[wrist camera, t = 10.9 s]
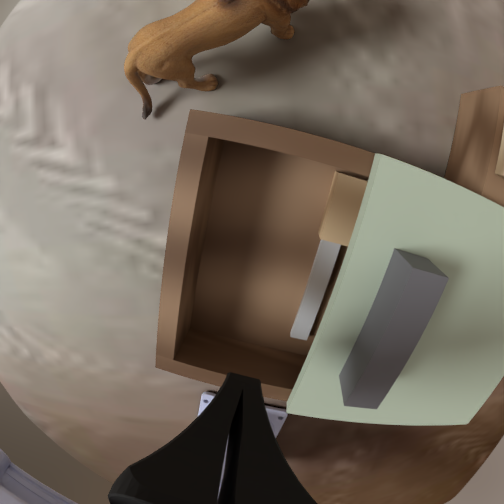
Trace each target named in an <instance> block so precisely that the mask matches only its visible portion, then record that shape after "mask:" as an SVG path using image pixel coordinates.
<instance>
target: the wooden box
mask: <svg viewBox="0 0 504 504" xmlns="http://www.w3.org/2000/svg"><path fill="white" fill-rule="evenodd" d="M503 128H504V87H502V86H497V87H492V88H487V89H482V90H477V91H473V92H468V93H464V94H461V99H460V105H459V112H458V117H457V123H456V128H455V133H454V138H453V143H452V147H451V152H450V156H449V160H448V165H447V169H446V172H445V176H444V179H446V180H448V181H451V182H453V183H455V184H457V185H460V186H462V187H464V188H466V189H468V190H470V191H472V192H474V193H477V194H479V195H481V196H483V197H485V198H487V199H489V200H491V201H492V202H494V203H496V204H498V205H500V206H502V207H504V179H503V178H501V177H500V176H498V175H496V174H495V170H496V165H497V161H498V156H499V151H500V146H501V140H502V134H503ZM374 156H375V153H372V152H369V151H366V150H363V149H360V148H357V147H354V146H350V145H347V144H344V143H341V142H337V141H334V140H330V139H327V138H324V137H320V136H316V135H313V134H309V133H305V132H301V131H297V130H293V129H289V128H285V127H281V126H277V125H273V124H268V123H264V122H259V121H254V120H249V119H244V118H239V117H234V116H229V115H223V114H217V113H211V112H205V111H199V110H192V109H190V112H189V117H188V122H187V126H186V131H185V136H184V141H183V146H182V151H181V156H180V161H179V167H178V172H177V178H176V183H175V189H174V195H173V202H172V208H171V214H170V221H169V228H168V235H167V243H166V251H165V259H164V267H163V276H162V286H161V296H160V307H159V319H158V332H157V348H156V368H159V369H162V370H165V371H168V372H171V373H175V374H178V375H181V376H184V377H188V378H191V379H195V380H198V381H202V382H205V383H209V384H213V385H216V386H220V387H221V386H222V384H223V382H224V380H225V378H226V376H227V373H229V372H232V373H236V374H240V375H244V376H248V377H252V378H256V379H259V380H260V381H261V387H262V394H263V397H268V398H273V399H278V400H283V401H287V400H288V398H289V396H290V394H291V392H292V390H293V387H294V385H295V383H296V381H297V378H298V376H299V374H300V372H301V369H302V367H303V365H304V362H305V360H306V358H307V355H308V353H309V350H310V348H311V346H312V343H313V341H314V338H315V336H316V333H317V331H318V328H319V326H320V323H321V321H322V318H323V315H324V313H325V310H326V308H327V305H328V302H329V300H330V297H331V294H332V291H333V289H334V286H335V283H336V280H337V278H338V275H339V272H340V269H341V266H342V263H343V260H344V257H345V254H346V251H347V248H348V245H349V242H350V239H351V236H352V233H353V230H354V227H355V223H356V220H357V217H358V214H359V210H360V207H361V204H362V200H363V197H364V193H365V190H366V186H367V183H368V179H369V175H370V172H371V168H372V164H373V160H374Z"/></svg>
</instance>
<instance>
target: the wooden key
mask: <svg viewBox="0 0 504 504" xmlns="http://www.w3.org/2000/svg"><path fill="white" fill-rule="evenodd" d="M495 174H496V175H498V176H500V177H501V178H503V179H504V128H503V134H502V140H501V146H500V151H499V156H498V161H497V165H496V170H495Z"/></svg>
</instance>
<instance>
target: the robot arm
mask: <svg viewBox="0 0 504 504" xmlns="http://www.w3.org/2000/svg"><path fill="white" fill-rule="evenodd" d="M280 416H281V417H280ZM287 416H288V413H286V410H285V409H281V408H276V407H270V406H265V404H264V399H263V394H262V387H261V381H260V380H259V379H256V378H252V377H248V376H244V375H240V374H236V373H232V372H229V373H227V376H226V378H225V380H224V382H223V384H222V386H221V388H220V389H219V391H218V392H217V394H214V393H210V392H204V393H203V394H202V397H201V402H200V408H199V413H198V417H197V418H196V419H195V420H194V421H193V422H192V423H191V424H190V425H189V426H188V427H187V428H186V429H185V430H184V431H182V432H181V433H180V434H179V435H178V436H176V437H175V438H174V439H173V440H171V441H170V442H169V443H167V444H166V445H164V446H163V447H161V448H160V449H158V450H157V451H155V452H154V453H152V454H150V455H149V456H147V457H145V458H143V459H141V460H139V461H138V462H136V463H134V464H132V465H130V466H128V467H127V468H126V469H125V470H124V471H123V472H122V474H121V475H120V476H119V477H118V478H117V479H116V481H115V482H114V484H113V486H112V488H111V490H110V492H109V494H108V498H109V501H110V504H317V503H316V502H315V500H314V499H313V498H312V497H311V496H310V495H309V493H308V492H307V491H306V490H305V488H304V487H303V486H302V484H301V483H300V482H299V480H298V479H297V477H296V476H295V474H294V473H293V471H292V469H291V468H290V466H289V465H288V463H287V461H286V459H285V457H284V456H283V453H282V451H281V449H280V447H279V445H278V443H277V441H276V437H277V435H278V433H279V431H280V429H281V427H282V425H283V423H284V422H285V420H286V418H287ZM0 504H77V503H75V502H74V501H72V500H70V499H68V498H66V497H64V496H62V495H61V494H59V493H57V492H56V491H54V490H52V489H51V488H49V487H47V486H46V485H44V484H43V483H41V482H39V481H38V480H36V479H35V478H33V477H32V476H30V475H28V474H27V473H26V472H24V471H23V470H22V469H20V468H19V467H17V466H16V465H15V464H13V463H12V462H11V461H10V459H9V457H8V456H7V455H6V454H5V453H4V452H3V451H2V450H1V449H0Z"/></svg>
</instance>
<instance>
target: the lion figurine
mask: <svg viewBox="0 0 504 504" xmlns="http://www.w3.org/2000/svg"><path fill="white" fill-rule="evenodd" d="M308 2H309V0H196V1H195V2H193V3H192V4H191V5H190V6H188V7H187V8H185V9H184V10H182V11H180V12H178V13H177V14H175V15H172V16H170V17H167V18H164V19H161V20H158V21H156V22H153V23H150V24H148V25H146V26H145V27H143V28H142V29H140V30H139V31H138V32H137V34H136V35H135V36H134V37H133V38H132V40H131V41H130V43H129V45H128V51H129V53H128V55H127V57H126V60H125V64H124V70H125V75H126V77H127V79H128V80H129V82H130V83H131V84H132V85H133V86H134V88H135V89H136V90H137V91H138V92H139V93H140V95H141V97H142V100H143V114H142V117H143V119H146V118H147V117H148V116H149V115H150V114H151V112H152V101H151V97H150V95H149V93H148V91H147V89H146V87H145V85H144V83H145V84H147V85H152V84H155V83H157V82H159V81H160V80H161V79H167V80H173V81H177V82H178V84H179V86H180V87H182V88H191V89H197V90H200V91H211V90H214V89H215V88H216V87H217V85H218V80H217V79H216V77H215V76H214V75H213V74H206V75H204V76H202V77H200V78H194V73H195V67H194V65H193V64H192V57H193V56H194V55H195V54H197V53H199V52H202V51H205V50H209V49H213V48H216V47H220V46H223V45H226V44H228V43H230V42H232V41H235V40H237V39H239V38H240V37H242V36H244V35H245V34H247V33H248V32H249V31H251V30H252V29H254V28H255V27H257V26H258V25H259V24H260V23H263V24H265V25H268V26H270V27H271V33H272V34H273V35H275V36H276V37H278V38H280V39H290V38H292V37H293V34H294V29H293V27H292V26H291V25H290V20H291V16H290V14H291V13H293V12H295V11H297V10H298V9H299V8H302V7H304V6H307V4H308ZM143 82H144V83H143Z"/></svg>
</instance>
